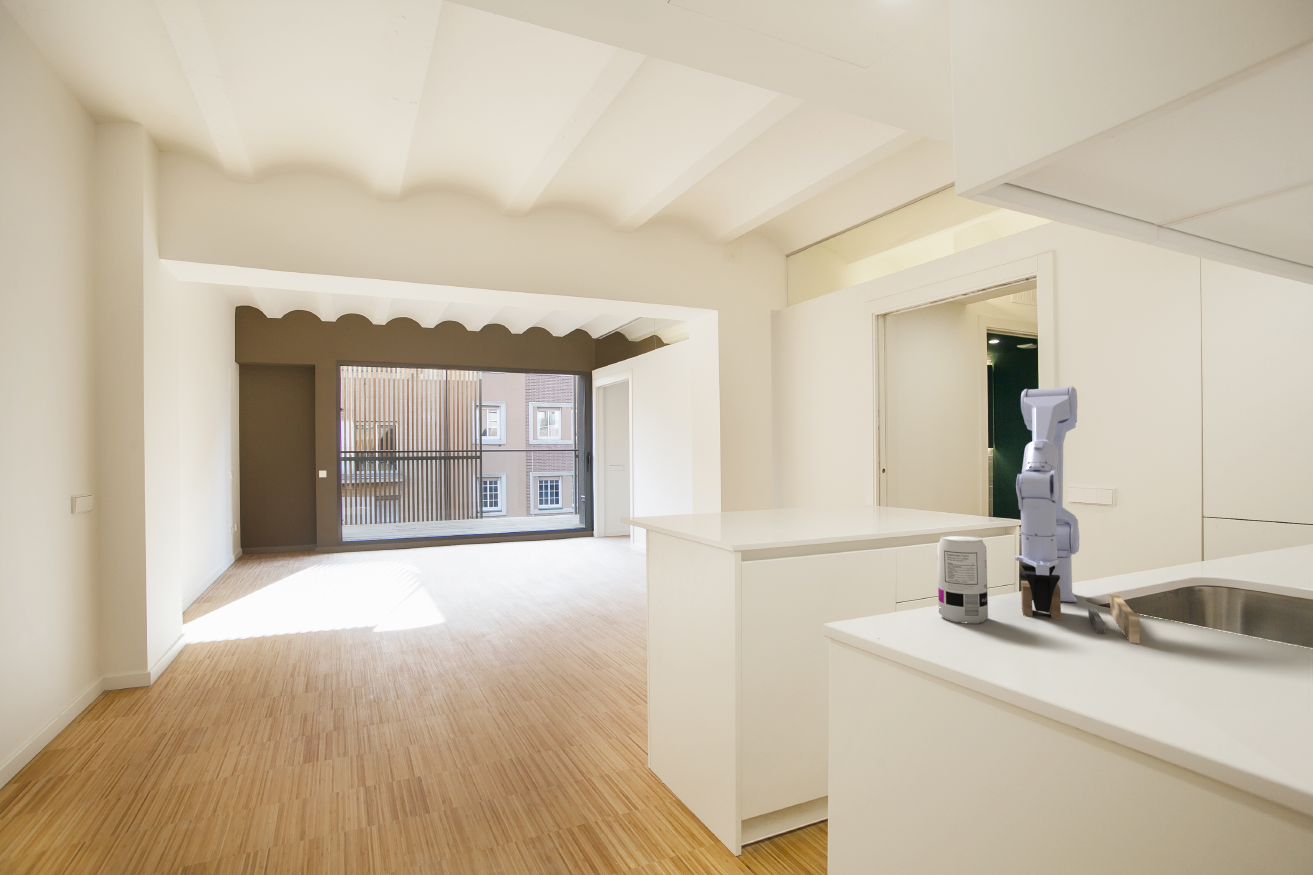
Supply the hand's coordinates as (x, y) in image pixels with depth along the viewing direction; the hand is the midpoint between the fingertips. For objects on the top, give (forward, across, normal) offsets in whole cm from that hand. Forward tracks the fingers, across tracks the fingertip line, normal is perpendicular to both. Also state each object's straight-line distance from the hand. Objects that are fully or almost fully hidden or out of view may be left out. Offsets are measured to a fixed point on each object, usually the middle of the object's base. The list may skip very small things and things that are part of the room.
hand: (1040, 606), depth 119 cm
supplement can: (+2, +9, -13) cm, 16 cm away
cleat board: (+1, +5, +10) cm, 11 cm away
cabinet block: (+2, 0, 0) cm, 2 cm away
